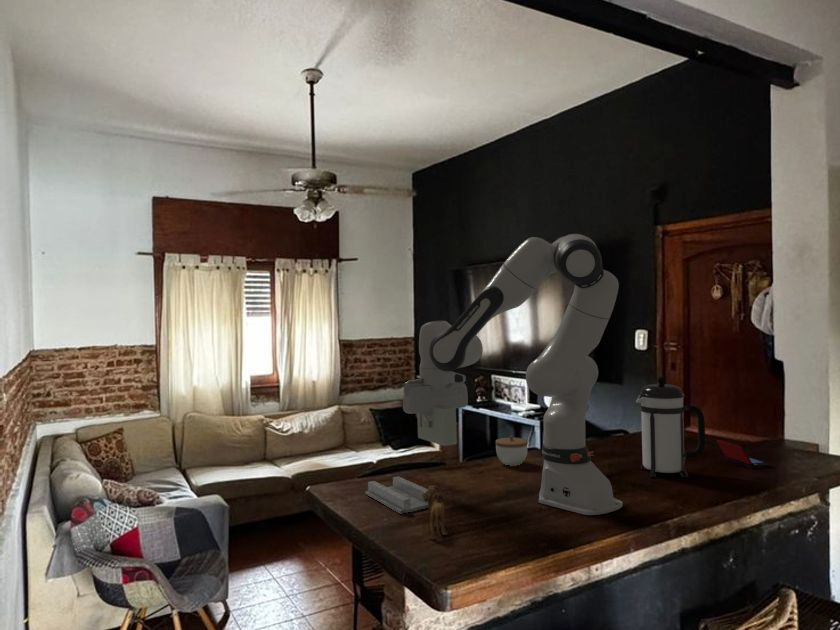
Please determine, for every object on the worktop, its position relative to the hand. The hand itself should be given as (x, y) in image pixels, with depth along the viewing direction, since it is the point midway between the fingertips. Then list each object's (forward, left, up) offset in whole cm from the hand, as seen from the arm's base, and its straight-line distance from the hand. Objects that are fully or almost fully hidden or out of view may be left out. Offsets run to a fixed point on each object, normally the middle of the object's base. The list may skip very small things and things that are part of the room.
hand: (436, 426), depth 166 cm
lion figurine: (-24, +16, -19) cm, 35 cm away
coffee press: (-25, -69, -19) cm, 76 cm away
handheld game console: (-32, -98, -19) cm, 105 cm away
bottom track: (0, +12, -19) cm, 22 cm away
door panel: (0, 0, -4) cm, 4 cm away
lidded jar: (+12, -38, -19) cm, 44 cm away
